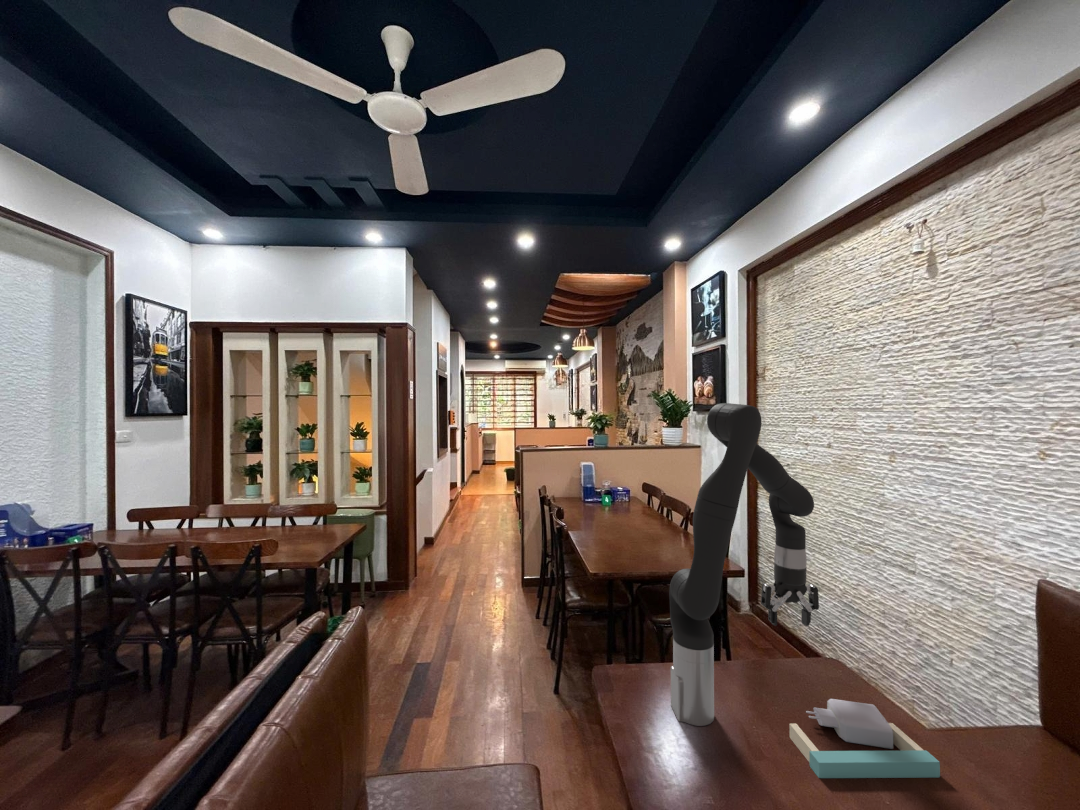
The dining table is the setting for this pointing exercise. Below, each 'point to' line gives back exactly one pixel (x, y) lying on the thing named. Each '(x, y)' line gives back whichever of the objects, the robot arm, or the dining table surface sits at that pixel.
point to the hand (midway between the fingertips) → (789, 624)
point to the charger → (856, 722)
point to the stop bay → (869, 759)
